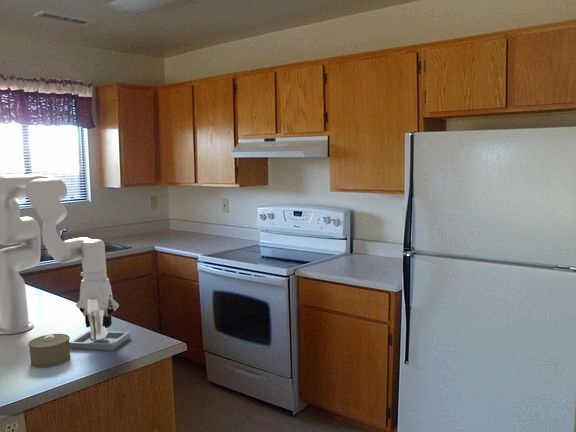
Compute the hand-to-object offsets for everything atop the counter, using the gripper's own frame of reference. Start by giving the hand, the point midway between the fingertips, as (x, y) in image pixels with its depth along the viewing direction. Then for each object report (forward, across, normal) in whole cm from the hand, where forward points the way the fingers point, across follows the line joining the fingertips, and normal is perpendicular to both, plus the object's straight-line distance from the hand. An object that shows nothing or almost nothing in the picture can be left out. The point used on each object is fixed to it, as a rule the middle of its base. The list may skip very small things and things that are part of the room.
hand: (98, 326), depth 179 cm
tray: (+6, 0, 0) cm, 6 cm away
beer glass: (+5, 0, 0) cm, 5 cm away
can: (+7, -8, -15) cm, 19 cm away
